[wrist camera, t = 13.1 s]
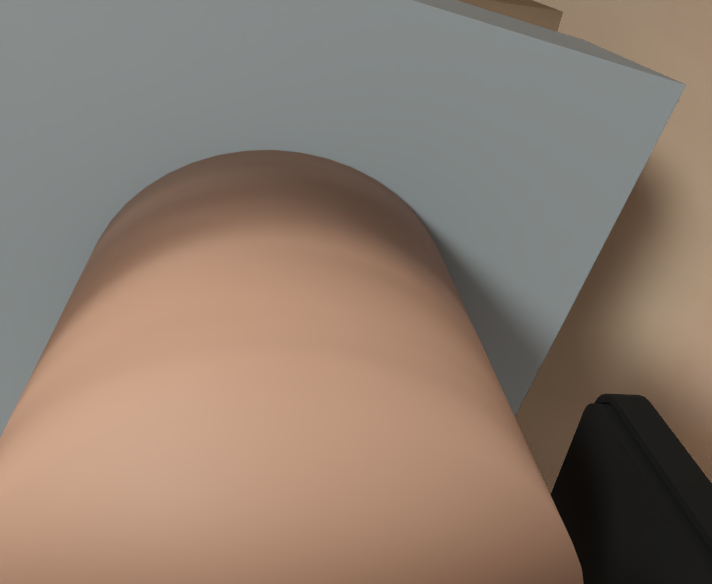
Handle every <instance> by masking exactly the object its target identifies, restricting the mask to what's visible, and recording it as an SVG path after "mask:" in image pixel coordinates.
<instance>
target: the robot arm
mask: <svg viewBox="0 0 712 584" xmlns="http://www.w3.org/2000/svg"><path fill="white" fill-rule="evenodd" d="M551 497H552V499H553V501H554V504H555V506H556V508H557V510H558V512H559V515H560V517H561V519H562V521H563V523H564V526H565V528H566V530H567V532H568V534H569V536H570V539H571V541H572V543H573V546H574V548H575V551H576V554H577V557H578V560H579V562H580V565H581V568H582V575H583V583H584V584H712V483H711V482H710V481H709V479H708V478H707V477H706V476H705V474H704V473H703V472H702V470H701V469H700V468H699V466H698V465H697V464H696V462H695V461H694V460H693V458H692V457H691V456H690V454H689V453H688V452H687V450H686V449H685V448H684V446H683V445H682V444H681V443H680V441H679V440H678V439H677V437H676V436H675V435H674V433H673V432H672V431H671V429H670V428H669V427H668V425H667V424H666V423H665V421H664V420H663V419H662V417H661V416H660V415H659V413H658V412H657V411H656V410H655V408H654V407H653V406H652V404H651V403H650V402H649V401H648V400H647V399H646V398H645V397H643V396H640V395H623V394H603V395H601V396H600V397H598V398H597V400H596V402H595V403H592V404H589V405H588V406H587V407H586V408H585V410H584V412H583V415H582V417H581V420H580V422H579V425H578V427H577V430H576V432H575V435H574V437H573V440H572V442H571V445H570V447H569V450H568V453H567V455H566V458H565V460H564V463H563V465H562V468H561V470H560V473H559V475H558V478H557V480H556V483H555V485H554V488H553V490H552V493H551Z"/></svg>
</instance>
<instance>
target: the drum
mask: <svg viewBox="0 0 712 584" xmlns="http://www.w3.org/2000/svg"><path fill="white" fill-rule="evenodd" d="M0 584H584V583H583V575H582V568H581V565H580V562H579V560H578V557H577V554H576V551H575V548H574V546H573V543H572V541H571V539H570V536H569V534H568V532H567V530H566V528H565V526H564V523H563V521H562V519H561V517H560V515H559V512H558V510H557V508H556V506H555V504H554V501H553V499H552V497H551V495H550V493H549V491H548V488H547V486H546V484H545V482H544V480H543V477H542V475H541V473H540V471H539V469H538V466H537V464H536V462H535V460H534V458H533V456H532V453H531V451H530V449H529V447H528V445H527V442H526V440H525V438H524V436H523V434H522V431H521V429H520V427H519V425H518V423H517V421H516V418H515V416H514V414H513V412H512V410H511V407H510V405H509V403H508V401H507V399H506V396H505V394H504V392H503V390H502V388H501V386H500V383H499V381H498V379H497V377H496V375H495V372H494V370H493V368H492V366H491V364H490V361H489V359H488V357H487V355H486V353H485V351H484V348H483V346H482V344H481V342H480V340H479V337H478V335H477V333H476V331H475V329H474V326H473V324H472V322H471V320H470V318H469V315H468V313H467V311H466V309H465V307H464V305H463V302H462V300H461V298H460V296H459V294H458V291H457V289H456V287H455V285H454V283H453V280H452V278H451V276H450V274H449V272H448V270H447V267H446V265H445V263H444V261H443V259H442V256H441V254H440V252H439V250H438V248H437V245H436V244H435V242H434V240H433V239H432V237H431V235H430V233H429V232H428V230H427V228H426V227H425V225H424V224H423V223H422V222H421V220H420V219H419V218H418V216H417V215H416V214H415V213H414V211H413V210H412V209H411V208H410V207H409V206H408V205H407V204H406V203H405V202H403V201H402V200H401V199H400V198H399V197H398V196H397V195H396V194H395V193H394V192H392V191H391V190H389V189H388V188H387V187H385V186H384V185H382V184H381V183H379V182H378V181H377V180H375V179H373V178H372V177H370V176H368V175H366V174H364V173H362V172H360V171H358V170H356V169H354V168H352V167H350V166H347V165H344V164H341V163H339V162H336V161H333V160H330V159H328V158H323V157H319V156H314V155H310V154H305V153H301V152H291V151H280V150H252V151H241V152H234V153H228V154H222V155H217V156H213V157H210V158H206V159H203V160H200V161H196V162H193V163H190V164H188V165H186V166H184V167H181V168H179V169H177V170H175V171H172V172H170V173H168V174H166V175H164V176H163V177H161V178H160V179H158V180H156V181H155V182H153V183H152V184H150V185H148V186H147V187H145V188H144V189H143V190H142V191H140V192H139V193H138V194H137V195H136V196H134V197H133V198H132V199H131V200H130V201H129V202H127V203H126V204H125V205H124V207H123V208H122V209H121V210H120V211H119V212H118V213H117V214H116V216H115V217H114V218H113V219H112V220H111V221H110V223H109V224H108V226H107V227H106V229H105V231H104V232H103V234H102V235H101V237H100V238H99V240H98V242H97V244H96V246H95V248H94V250H93V252H92V254H91V256H90V258H89V260H88V262H87V264H86V266H85V268H84V270H83V272H82V274H81V276H80V278H79V280H78V282H77V284H76V286H75V288H74V290H73V292H72V294H71V296H70V298H69V300H68V302H67V304H66V306H65V308H64V310H63V312H62V314H61V316H60V318H59V320H58V322H57V324H56V326H55V328H54V330H53V332H52V334H51V337H50V339H49V341H48V343H47V345H46V347H45V349H44V351H43V353H42V355H41V357H40V359H39V361H38V363H37V365H36V367H35V369H34V371H33V373H32V375H31V377H30V379H29V381H28V383H27V385H26V387H25V389H24V391H23V393H22V395H21V397H20V399H19V401H18V403H17V405H16V407H15V409H14V411H13V413H12V415H11V417H10V419H9V421H8V423H7V425H6V427H5V429H4V431H3V433H2V435H1V437H0Z"/></svg>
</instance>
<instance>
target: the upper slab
mask: <svg viewBox="0 0 712 584" xmlns="http://www.w3.org/2000/svg"><path fill="white" fill-rule="evenodd" d="M685 86H686V85H685V84H683V83H681V82H679V81H676V80H674V79H672V78H669V77H667V76H665V75H662V74H660V73H658V72H656V71H653V70H651V69H649V68H646V67H644V66H642V65H640V64H637V63H635V62H633V61H630V60H628V59H626V58H624V57H621V56H619V55H617V54H614V53H612V52H610V51H607V50H605V49H603V48H601V47H598V46H596V45H594V44H591V43H589V42H587V41H585V40H582V39H579V38H576V37H573V36H569V35H566V34H563V33H560V32H557V31H553V30H550V29H547V28H544V27H541V26H538V25H534V24H531V23H528V22H525V21H522V20H518V19H515V18H512V17H509V16H506V15H503V14H499V13H496V12H493V11H490V10H487V9H483V8H480V7H477V6H474V5H471V4H468V3H464V2H461V1H458V0H0V437H1V435H2V433H3V431H4V429H5V427H6V425H7V423H8V421H9V419H10V417H11V415H12V413H13V411H14V409H15V407H16V405H17V403H18V401H19V399H20V397H21V395H22V393H23V391H24V389H25V387H26V385H27V383H28V381H29V379H30V377H31V375H32V373H33V371H34V369H35V367H36V365H37V363H38V361H39V359H40V357H41V355H42V353H43V351H44V349H45V347H46V345H47V343H48V341H49V339H50V337H51V334H52V332H53V330H54V328H55V326H56V324H57V322H58V320H59V318H60V316H61V314H62V312H63V310H64V308H65V306H66V304H67V302H68V300H69V298H70V296H71V294H72V292H73V290H74V288H75V286H76V284H77V282H78V280H79V278H80V276H81V274H82V272H83V270H84V268H85V266H86V264H87V262H88V260H89V258H90V256H91V254H92V252H93V250H94V248H95V246H96V244H97V242H98V240H99V238H100V237H101V235H102V234H103V232H104V231H105V229H106V227H107V226H108V224H109V223H110V221H111V220H112V219H113V218H114V217H115V216H116V214H117V213H118V212H119V211H120V210H121V209H122V208H123V207H124V205H125V204H126V203H127V202H129V201H130V200H131V199H132V198H133V197H134V196H136V195H137V194H138V193H139V192H140V191H142V190H143V189H144V188H145V187H147V186H148V185H150V184H152V183H153V182H155V181H156V180H158V179H160V178H161V177H163V176H164V175H166V174H168V173H170V172H172V171H175V170H177V169H179V168H181V167H184V166H186V165H188V164H190V163H193V162H196V161H200V160H203V159H206V158H210V157H213V156H217V155H222V154H228V153H234V152H241V151H252V150H280V151H291V152H301V153H305V154H310V155H314V156H319V157H323V158H328V159H330V160H333V161H336V162H339V163H341V164H344V165H347V166H350V167H352V168H354V169H356V170H358V171H360V172H362V173H364V174H366V175H368V176H370V177H372V178H373V179H375V180H377V181H378V182H379V183H381V184H382V185H384V186H385V187H387V188H388V189H389V190H391V191H392V192H394V193H395V194H396V195H397V196H398V197H399V198H400V199H401V200H402V201H403V202H405V203H406V204H407V205H408V206H409V207H410V208H411V209H412V210H413V211H414V213H415V214H416V215H417V216H418V218H419V219H420V220H421V222H422V223H423V224H424V225H425V227H426V228H427V230H428V232H429V233H430V235H431V237H432V239H433V240H434V242H435V244H436V245H437V248H438V250H439V252H440V254H441V256H442V259H443V261H444V263H445V265H446V267H447V270H448V272H449V274H450V276H451V278H452V280H453V283H454V285H455V287H456V289H457V291H458V294H459V296H460V298H461V300H462V302H463V305H464V307H465V309H466V311H467V313H468V315H469V318H470V320H471V322H472V324H473V326H474V329H475V331H476V333H477V335H478V337H479V340H480V342H481V344H482V346H483V348H484V351H485V353H486V355H487V357H488V359H489V361H490V364H491V366H492V368H493V370H494V372H495V375H496V377H497V379H498V381H499V383H500V386H501V388H502V390H503V392H504V394H505V396H506V399H507V401H508V403H509V405H510V407H511V410H512V412H513V414H514V416H516V414H517V412H518V410H519V408H520V406H521V404H522V402H523V400H524V398H525V396H526V394H527V392H528V390H529V388H530V386H531V385H532V383H533V381H534V379H535V377H536V375H537V373H538V371H539V369H540V367H541V365H542V363H543V361H544V359H545V357H546V355H547V354H548V352H549V350H550V348H551V346H552V344H553V342H554V340H555V338H556V336H557V334H558V332H559V330H560V328H561V326H562V325H563V323H564V321H565V319H566V317H567V315H568V313H569V311H570V309H571V307H572V305H573V303H574V301H575V299H576V297H577V295H578V294H579V292H580V290H581V288H582V286H583V284H584V282H585V280H586V278H587V276H588V274H589V272H590V270H591V268H592V266H593V265H594V263H595V261H596V259H597V257H598V255H599V253H600V251H601V249H602V247H603V245H604V243H605V241H606V239H607V237H608V235H609V234H610V232H611V230H612V228H613V226H614V224H615V222H616V220H617V218H618V216H619V214H620V212H621V210H622V208H623V206H624V205H625V203H626V201H627V199H628V197H629V195H630V193H631V191H632V189H633V187H634V185H635V183H636V181H637V179H638V177H639V175H640V174H641V172H642V170H643V168H644V166H645V164H646V162H647V160H648V158H649V156H650V154H651V152H652V150H653V148H654V146H655V145H656V143H657V141H658V139H659V137H660V135H661V133H662V131H663V129H664V127H665V125H666V123H667V121H668V119H669V117H670V115H671V114H672V112H673V110H674V108H675V106H676V104H677V102H678V100H679V98H680V96H681V94H682V92H683V90H684V88H685Z"/></svg>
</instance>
